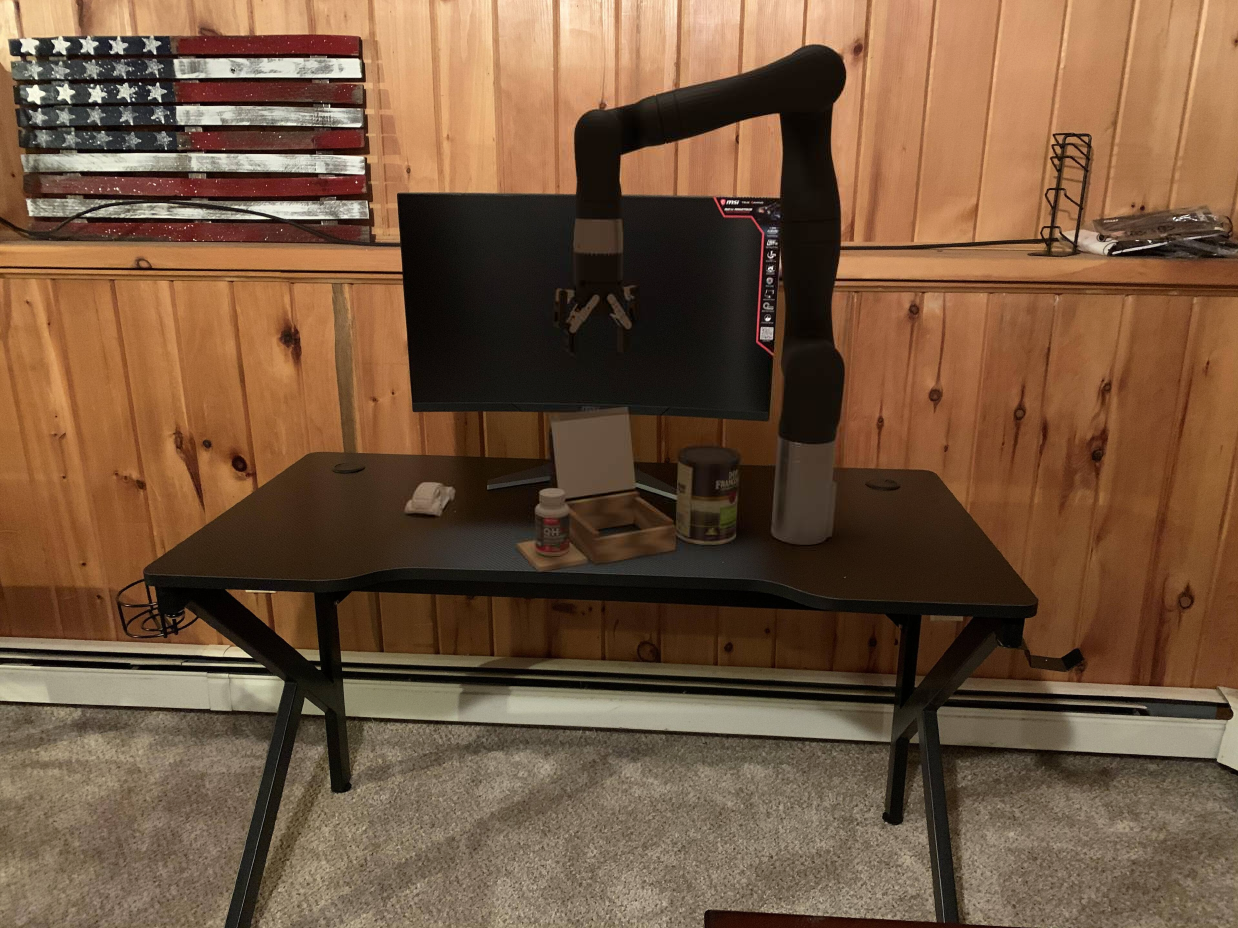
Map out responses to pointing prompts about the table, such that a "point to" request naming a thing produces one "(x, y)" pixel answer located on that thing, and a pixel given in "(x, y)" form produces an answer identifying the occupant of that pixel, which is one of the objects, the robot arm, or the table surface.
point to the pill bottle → (552, 523)
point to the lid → (593, 451)
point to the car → (430, 499)
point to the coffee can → (707, 494)
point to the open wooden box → (618, 512)
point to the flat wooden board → (551, 557)
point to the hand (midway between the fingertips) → (597, 353)
